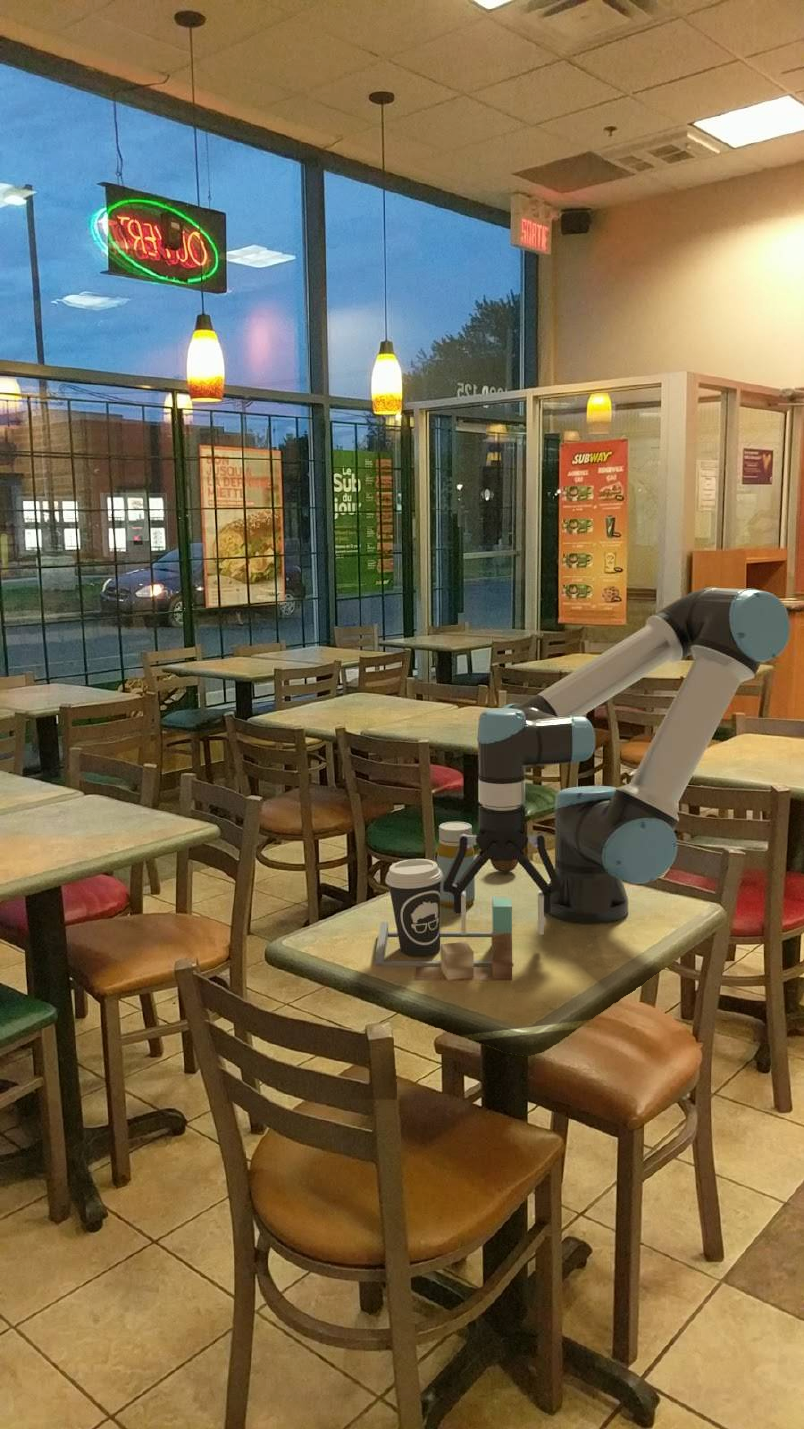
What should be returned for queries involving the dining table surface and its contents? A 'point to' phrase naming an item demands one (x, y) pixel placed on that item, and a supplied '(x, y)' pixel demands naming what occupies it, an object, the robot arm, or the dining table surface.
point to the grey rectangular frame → (499, 924)
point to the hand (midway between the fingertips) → (502, 931)
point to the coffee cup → (416, 905)
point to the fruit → (504, 865)
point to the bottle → (446, 854)
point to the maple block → (457, 960)
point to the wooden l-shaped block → (497, 972)
